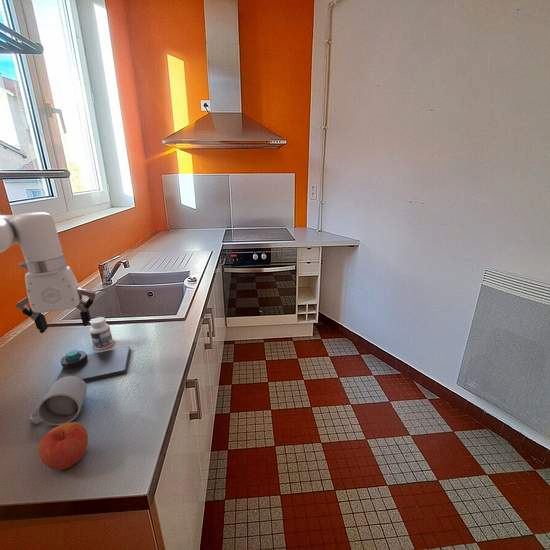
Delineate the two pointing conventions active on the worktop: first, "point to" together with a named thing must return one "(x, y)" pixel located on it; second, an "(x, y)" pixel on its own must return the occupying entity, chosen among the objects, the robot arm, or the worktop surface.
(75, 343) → the worktop surface
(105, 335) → the pill bottle
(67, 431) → the apple
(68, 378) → the ceramic mug
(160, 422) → the worktop surface
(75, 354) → the tare button
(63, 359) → the scale
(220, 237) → the worktop surface
